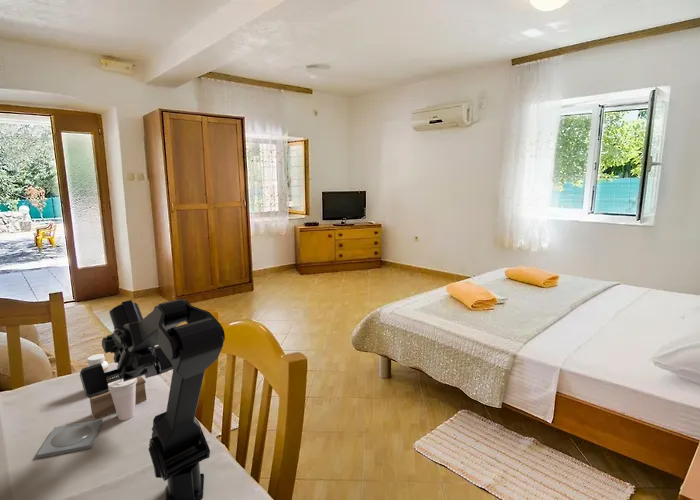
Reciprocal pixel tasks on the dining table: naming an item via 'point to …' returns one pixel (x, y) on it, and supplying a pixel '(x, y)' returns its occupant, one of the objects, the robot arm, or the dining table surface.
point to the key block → (105, 403)
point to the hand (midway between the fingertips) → (125, 382)
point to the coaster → (70, 438)
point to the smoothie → (124, 397)
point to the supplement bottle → (98, 361)
